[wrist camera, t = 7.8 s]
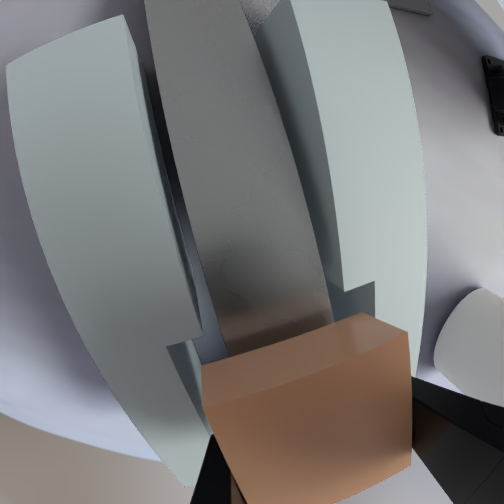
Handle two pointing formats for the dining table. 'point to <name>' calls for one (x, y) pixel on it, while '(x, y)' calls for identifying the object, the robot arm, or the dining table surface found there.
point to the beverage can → (474, 347)
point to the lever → (237, 175)
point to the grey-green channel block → (164, 210)
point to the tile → (314, 412)
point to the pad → (412, 6)
